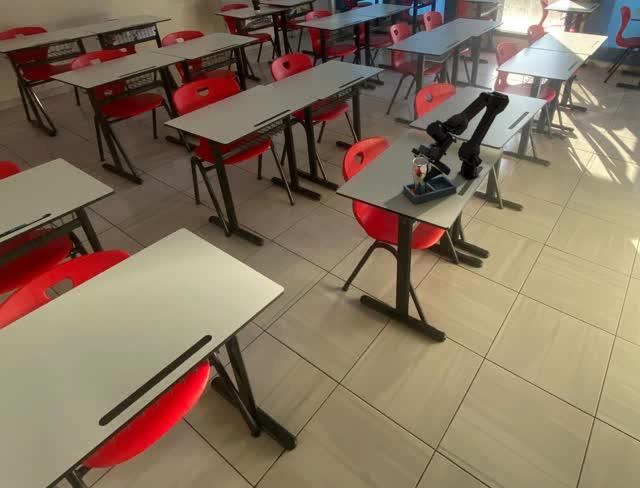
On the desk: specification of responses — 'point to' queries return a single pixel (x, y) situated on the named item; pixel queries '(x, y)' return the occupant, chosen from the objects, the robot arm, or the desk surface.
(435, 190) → the divided tray
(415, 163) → the beer glass
